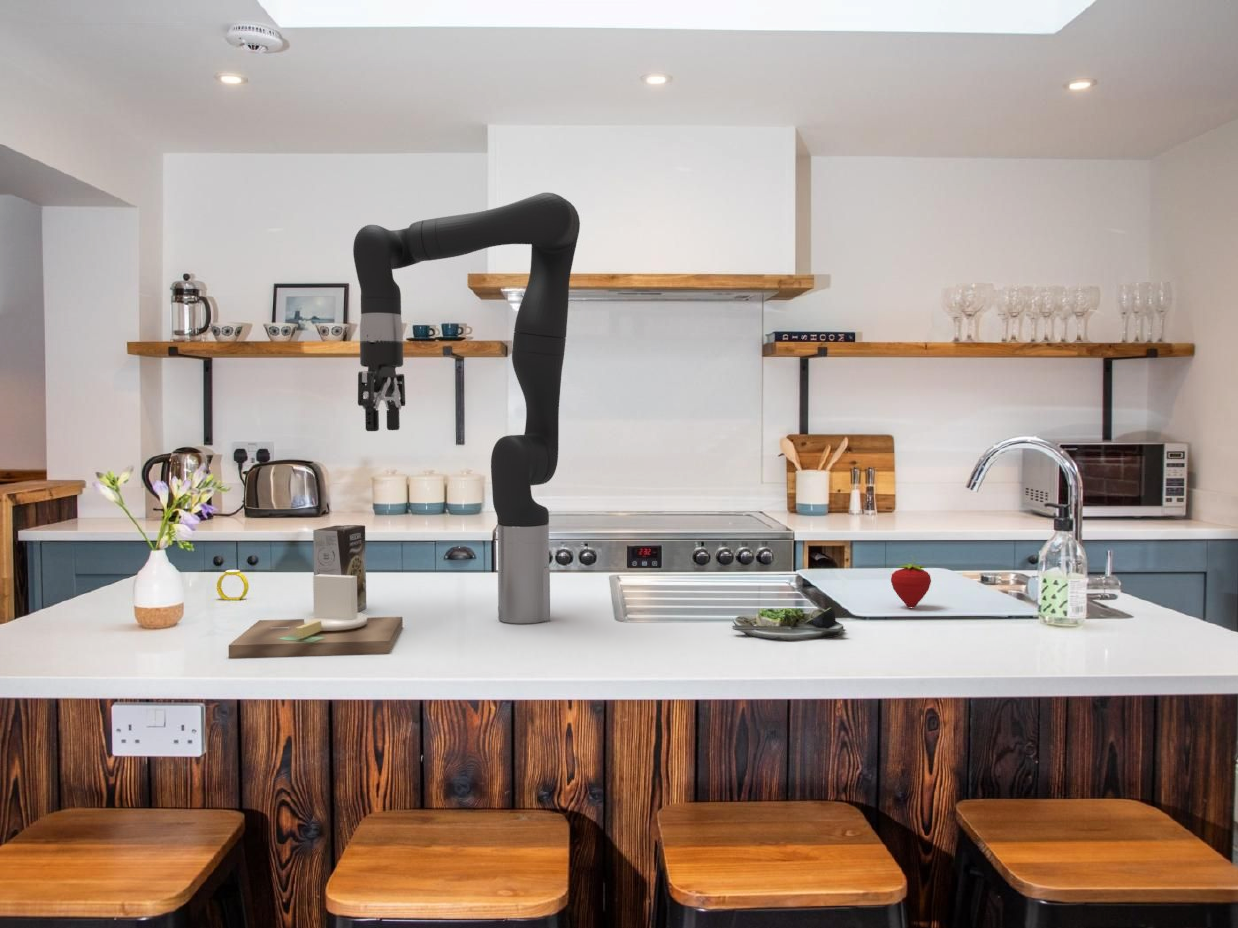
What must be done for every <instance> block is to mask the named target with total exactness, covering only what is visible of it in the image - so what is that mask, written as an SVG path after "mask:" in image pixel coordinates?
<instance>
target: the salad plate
mask: <svg viewBox="0 0 1238 928" xmlns="http://www.w3.org/2000/svg"><path fill="white" fill-rule="evenodd" d="M732 623H733V624H734V625H733V626H732V630H735V631H737V632H739V631H740V632H743V633H745V634H747V635H748V636H751V637H755V638H763V639H767V640H780V641H799V640H815V639H827V638H833V637H836V636H839V635H840V634H841V633H842V632H845V631H847V629H844V625H843V624H842V623H840V622H839V621H837V620H836V612H835V610H834V608H833V607H832V606H830V607H828V608H827V609H825V610H822V609H820V608H819V609H815V610H813V611H812V612H809V611H803V609H801V608H797V607H795V608H790V607H783V608H778V609H774V608H767V609H766V608H761V609H760V610H759V611H758V613H755V614H742V615H738V616H736V617H735V618H734V619H733V621H732Z"/></svg>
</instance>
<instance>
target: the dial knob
mask: <svg viewBox="0 0 1238 928" xmlns="http://www.w3.org/2000/svg"><path fill="white" fill-rule="evenodd" d="M312 580H313V581H312V583H313V584H312V585H313V586H312V588H313V614H312V615H309V616H307V617H305V618H303V619H304V625H302V626H299V627H296V638H304V637H306V636H309V635H312V634H314V633H317V632H320V631H335V630H346V629H352V628H357V627H361V626H363V625H365V624H367V618H368V615H367V614H365V613H362V612H357V576H348V575H327V574H318V575H315V576H314V575H313V576H312Z"/></svg>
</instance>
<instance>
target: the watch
mask: <svg viewBox="0 0 1238 928" xmlns="http://www.w3.org/2000/svg"><path fill="white" fill-rule="evenodd" d="M226 576H237V577H239V578H240V580H241V581H242V583H243V591H242V594H241V595H240V596H238V597H229V596H227V595H226V594H225V593H224V591H223V589H222V582H223V580H224V578H225V577H226ZM248 591H249V581H248V579H247V577H246V575H244V574H243V573H242V572H241V570H240V569H228V570H225V571H224V573H223V574H221V575H220V576H219V578H218V580H217V582H216V592H217V593H218V595H219V597H220V598H222V600H224V601H240V600H242V599H243V598H245V597H246V595H247V594H248Z"/></svg>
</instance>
